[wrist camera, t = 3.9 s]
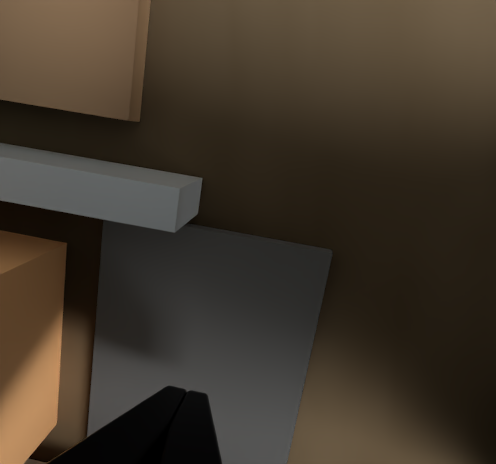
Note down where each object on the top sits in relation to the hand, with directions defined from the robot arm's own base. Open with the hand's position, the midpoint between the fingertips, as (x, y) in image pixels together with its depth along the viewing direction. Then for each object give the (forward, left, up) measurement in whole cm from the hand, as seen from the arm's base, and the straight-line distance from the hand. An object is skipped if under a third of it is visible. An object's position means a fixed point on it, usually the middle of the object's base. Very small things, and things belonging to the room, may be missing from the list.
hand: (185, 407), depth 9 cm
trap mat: (0, 0, -2) cm, 2 cm away
